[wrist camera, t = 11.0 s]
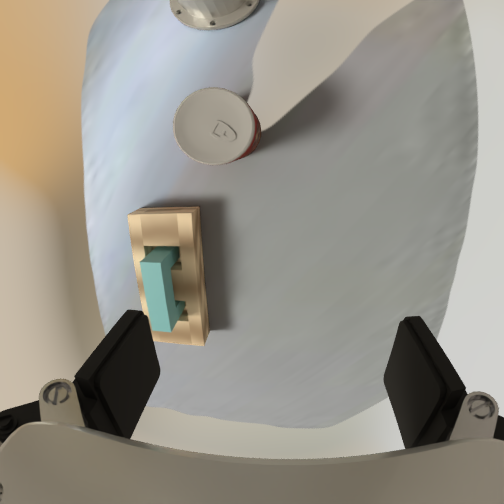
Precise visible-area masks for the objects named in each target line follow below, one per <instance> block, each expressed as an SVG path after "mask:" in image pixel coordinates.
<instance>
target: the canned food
mask: <svg viewBox="0 0 504 504" xmlns="http://www.w3.org/2000/svg"><path fill="white" fill-rule="evenodd" d="M173 132H174V137H175V139H176V142H177V144H178V146H179V147H180V149H181V150H182V151H183V152H184V153H185V154H186V155H187V156H188V157H190V158H191V159H193V160H195V161H197V162H199V163H203V164H207V165H222V164H227V163H230V162H233V161H236V160H238V159H241V158H244V157H246V156H247V155H249V154H250V153H251V152H252V151H254V149H255V148H256V147H257V145H258V143H259V141H260V136H261V127H260V122H259V120H258V118H257V116H256V115H255V114H254V112H253V110H252V109H251V108H250V106H249V105H248V103H247V102H246V101H245V100H244V99H243V98H242V97H240V96H239V95H237V94H236V93H234V92H232V91H229V90H227V89H223V88H217V87H213V88H204V89H200V90H198V91H196V92H194V93H192V94H190V95H189V96H187V97H186V98H185V99H184V100H183V101H182V103H181V104H180V105H179V107H178V108H177V111H176V113H175V116H174V121H173Z"/></svg>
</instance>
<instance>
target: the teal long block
mask: <svg viewBox="0 0 504 504" xmlns="http://www.w3.org/2000/svg"><path fill="white" fill-rule="evenodd" d="M179 258H180V254H179V246H157V247H156V248H155V249H154V250H152V251H151V252H150V253H149V254H148V255H147V256H146V257H145V258H144V259H143V260H141V261H140V267H141V273H142V280H143V285H144V291H145V297H146V302H147V307H148V312H149V317H150V322H151V327H152V330H153V331H162V332H172V330H173V328H174V327H175V325H176V323H177V321H178V319H179V317H180V316H181V314H182V312H183V310H184V308H185V301H177V300H175V299H174V292H173V284H172V276H171V267H172V266H173V265H174V264H175V262H176V261H177V260H178V259H179Z"/></svg>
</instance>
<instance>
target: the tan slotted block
mask: <svg viewBox="0 0 504 504" xmlns="http://www.w3.org/2000/svg"><path fill="white" fill-rule="evenodd" d="M128 223H129V231H130V238H131V246H132V252H133V259H134V265H135V271H136V277H137V283H138V288H139V293H140V299H141V304H142V308H143V313H144V315H147V316H148V319H149V324H150V328H151V333H152V337H153V341H159V342H168V343H177V344H188V345H199V346H204V345H205V343H206V340H207V337H208V334H209V332H210V329H209V319H208V309H207V299H206V288H205V277H204V264H203V251H202V237H201V222H200V207H161V208H140V209H138V210H136V211H134V212H132V213H130V214H128ZM157 246H179V254H180V258H179V259H178V260H177V261H176V262H175V264H174V265H173V266H172V267H171V276H172V284H173V292H174V299H175V300H177V301H185V308H184V310H183V312H182V314H181V316H180V317H179V319H178V321H177V323H176V325H175V327H174V328H173V330H172V332H162V331H153V330H152V327H151V322H150V317H149V312H148V307H147V302H146V297H145V291H144V285H143V280H142V273H141V267H140V261H141V260H143V259H144V258H145V257H146V256H147V255H148V254H149V253H150V252H151V251H152V250H154V249H155V248H156V247H157Z"/></svg>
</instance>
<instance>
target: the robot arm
mask: <svg viewBox="0 0 504 504" xmlns="http://www.w3.org/2000/svg"><path fill="white" fill-rule="evenodd" d="M259 1H260V0H170V7H171V10H172V12H173V14H174V16H175V17H176V18H177V19H178V20H179V21H180V22H181V23H183V24H184V25H186V26H188V27H191V28H194V29H198V30H218V29H223V28H227V27H229V26H232V25H235V24H237V23H239V22H241V21H242V20H244V19H245V18H246V17H248V16H249V15H250V14H251V13H252V12H253V11H254V10H255V8H256V7H257V5H258V3H259ZM250 5H251V6H250ZM249 6H250V7H249ZM180 13H181V14H180ZM213 24H215V25H213ZM159 376H160V366H159V362H158V358H157V354H156V350H155V346H154V342H153V337H152V333H151V328H150V324H149V319H148V316H147V315H144V313H143V311H138V310H127V311H126V312H125V313H124V314H123V316H122V317H121V318H120V319H119V320H118V322H117V323H116V324H115V325H114V326H113V328H112V329H111V330H110V331H109V333H108V334H107V335H106V336H105V338H104V339H103V340H102V341H101V343H100V344H99V345H98V346H97V348H96V349H95V350H94V351H93V353H92V354H91V355H90V357H89V358H88V359H87V360H86V362H85V363H84V364H83V366H82V367H81V368H80V370H79V371H78V372H77V373H76V375H75V380H74V381H73V382H71V381H69V380H66V379H56V380H53V381H50V382H48V383H47V384H45V385H44V387H43V388H42V389H41V391H40V393H39V400H38V401H34V402H32V403H28V404H24V405H21V406H18V407H14V408H10V409H7V410H4V411H2V412H0V504H504V417H502V416H499V415H498V412H499V411H498V410H499V408H498V405H497V402H496V401H495V400H494V398H493V397H491V396H490V395H489V394H487V393H484V392H472V393H469V394H467V392H466V391H465V389H466V387H465V385H464V384H463V382H462V380H461V379H460V377H459V375H458V374H457V372H456V370H455V369H454V367H453V365H452V364H451V362H450V361H449V359H448V357H447V356H446V354H445V353H444V351H443V349H442V348H441V346H440V345H439V343H438V342H437V340H436V339H435V337H434V336H433V334H432V333H431V331H430V330H429V328H428V327H427V325H426V324H425V322H424V321H423V319H422V318H421V317H420V316H411V317H405V318H404V320H403V321H401V322H400V323H399V327H398V330H397V334H396V338H395V341H394V345H393V348H392V351H391V355H390V358H389V361H388V364H387V367H386V370H385V373H384V384H385V387H386V390H387V393H388V396H389V399H390V401H391V405H392V408H393V411H394V414H395V417H396V420H397V423H398V426H399V430H400V433H401V436H402V440H403V443H404V446H405V449H403V450H397V451H390V452H384V453H377V454H370V455H361V456H351V457H339V458H323V459H260V458H243V457H232V456H222V455H213V454H205V453H198V452H190V451H184V450H178V449H173V448H168V447H162V446H158V445H153V444H149V443H144V442H140V441H135V440H131V439H130V438H131V436H132V434H133V432H134V429H135V427H136V425H137V423H138V421H139V419H140V416H141V414H142V412H143V410H144V408H145V406H146V404H147V402H148V399H149V397H150V395H151V393H152V391H153V389H154V387H155V385H156V383H157V381H158V378H159Z"/></svg>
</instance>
